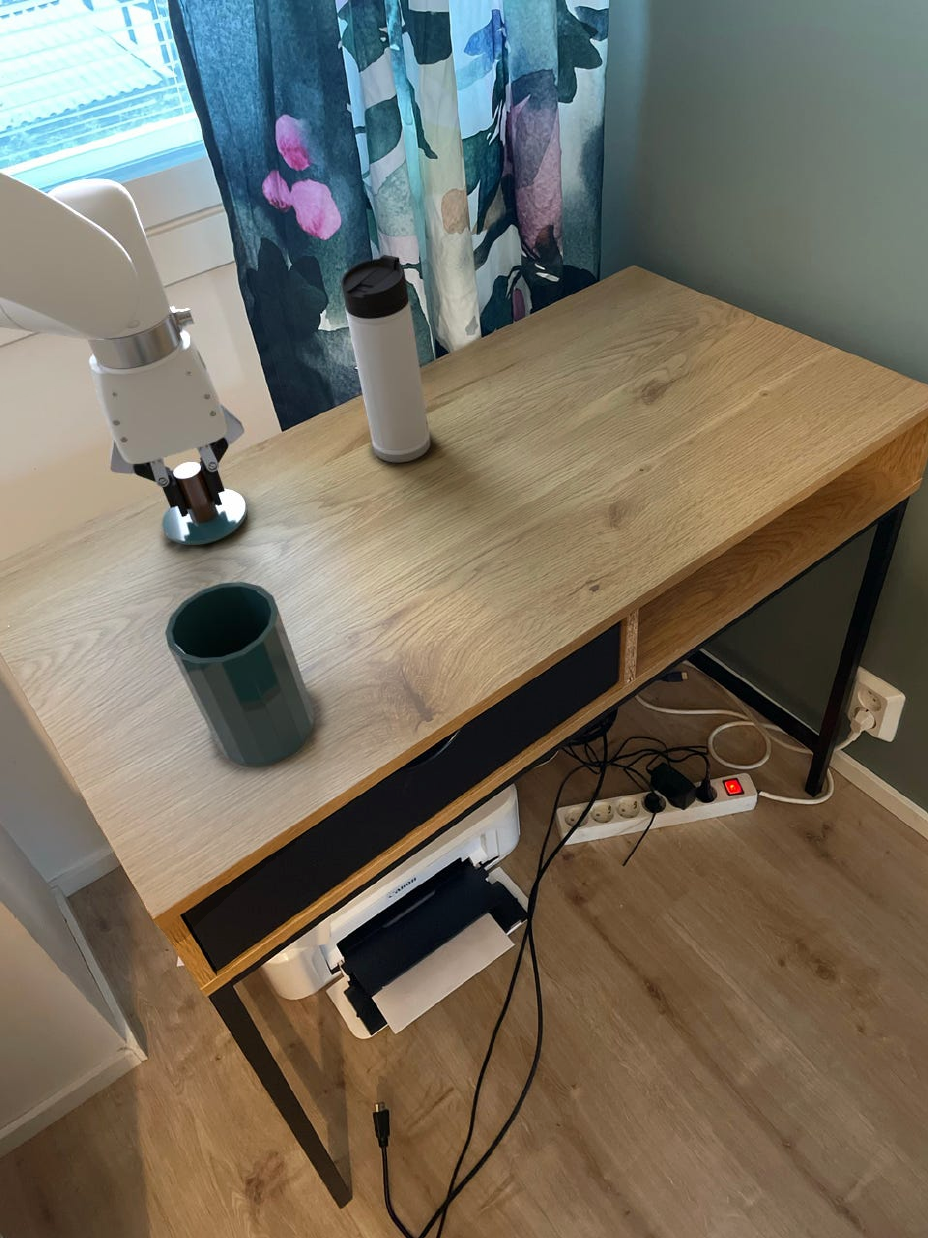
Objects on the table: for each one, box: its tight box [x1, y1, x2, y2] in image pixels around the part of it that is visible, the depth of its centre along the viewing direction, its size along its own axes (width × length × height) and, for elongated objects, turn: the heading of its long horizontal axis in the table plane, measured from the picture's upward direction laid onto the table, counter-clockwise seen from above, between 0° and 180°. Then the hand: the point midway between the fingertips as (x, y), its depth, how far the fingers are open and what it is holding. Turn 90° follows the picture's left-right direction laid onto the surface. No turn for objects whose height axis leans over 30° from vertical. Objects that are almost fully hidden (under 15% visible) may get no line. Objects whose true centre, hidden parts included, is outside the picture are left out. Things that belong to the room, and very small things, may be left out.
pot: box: [164, 581, 315, 768], centre depth 69 cm, size 8×8×12 cm
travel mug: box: [340, 254, 431, 463], centre depth 92 cm, size 6×7×20 cm
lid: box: [162, 461, 248, 546], centre depth 90 cm, size 9×9×7 cm
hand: (199, 502), depth 91 cm, fingers closed on lid, 2 cm apart
